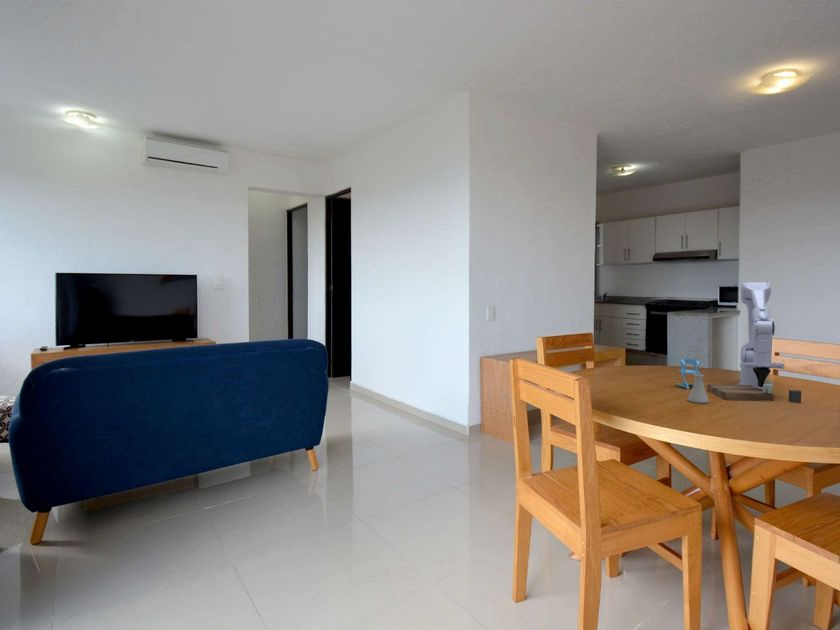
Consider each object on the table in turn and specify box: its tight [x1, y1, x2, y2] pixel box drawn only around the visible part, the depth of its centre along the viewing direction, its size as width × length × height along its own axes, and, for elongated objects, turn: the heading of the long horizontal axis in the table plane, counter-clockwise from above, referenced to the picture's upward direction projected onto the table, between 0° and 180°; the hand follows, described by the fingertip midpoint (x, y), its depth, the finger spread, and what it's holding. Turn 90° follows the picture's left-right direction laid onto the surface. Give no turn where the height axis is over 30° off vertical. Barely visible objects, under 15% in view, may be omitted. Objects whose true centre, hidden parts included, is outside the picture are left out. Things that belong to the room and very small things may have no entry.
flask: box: [687, 373, 710, 404], centre depth 177 cm, size 7×7×10 cm
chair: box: [676, 358, 701, 390], centre depth 200 cm, size 8×8×12 cm
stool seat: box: [707, 383, 775, 402], centre depth 186 cm, size 16×16×2 cm
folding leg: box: [762, 380, 774, 393], centre depth 181 cm, size 11×3×2 cm, turn 140°
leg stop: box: [788, 389, 802, 403], centre depth 174 cm, size 2×3×4 cm, turn 82°
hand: (761, 386), depth 184 cm, fingers closed, pressing on folding leg
